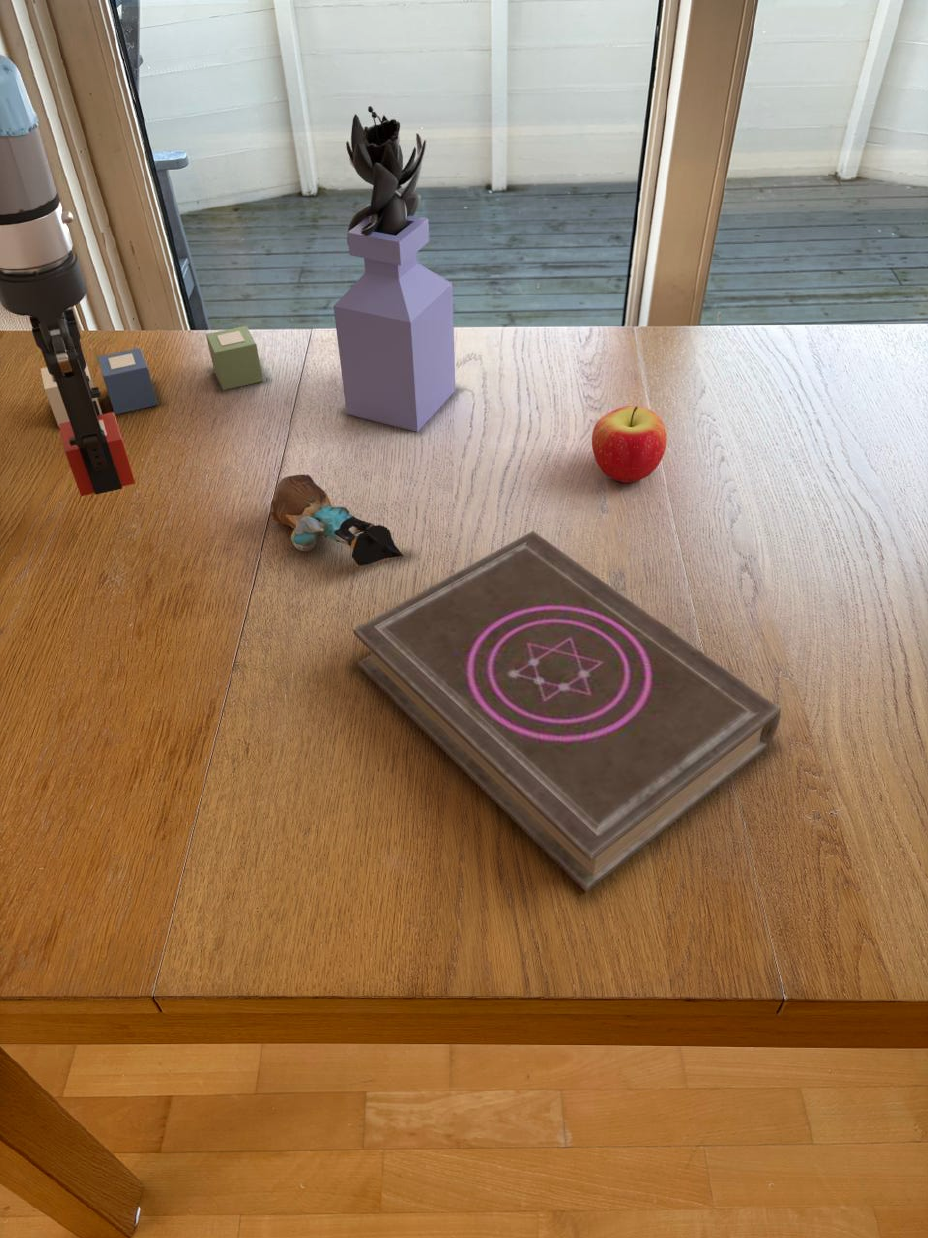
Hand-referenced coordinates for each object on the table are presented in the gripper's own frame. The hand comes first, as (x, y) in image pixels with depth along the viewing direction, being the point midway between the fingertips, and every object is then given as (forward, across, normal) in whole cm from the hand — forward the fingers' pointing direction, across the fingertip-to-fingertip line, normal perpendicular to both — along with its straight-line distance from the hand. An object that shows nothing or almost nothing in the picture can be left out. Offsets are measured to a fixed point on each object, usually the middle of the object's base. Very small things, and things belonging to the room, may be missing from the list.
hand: (104, 473), depth 100 cm
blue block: (+8, +27, -5) cm, 28 cm away
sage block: (+7, +27, -19) cm, 34 cm away
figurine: (+7, -12, -20) cm, 25 cm away
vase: (+7, +12, -37) cm, 40 cm away
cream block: (+8, +27, +2) cm, 28 cm away
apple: (+7, -14, -55) cm, 58 cm away
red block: (0, 0, 0) cm, 0 cm away
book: (+7, -42, -32) cm, 54 cm away
